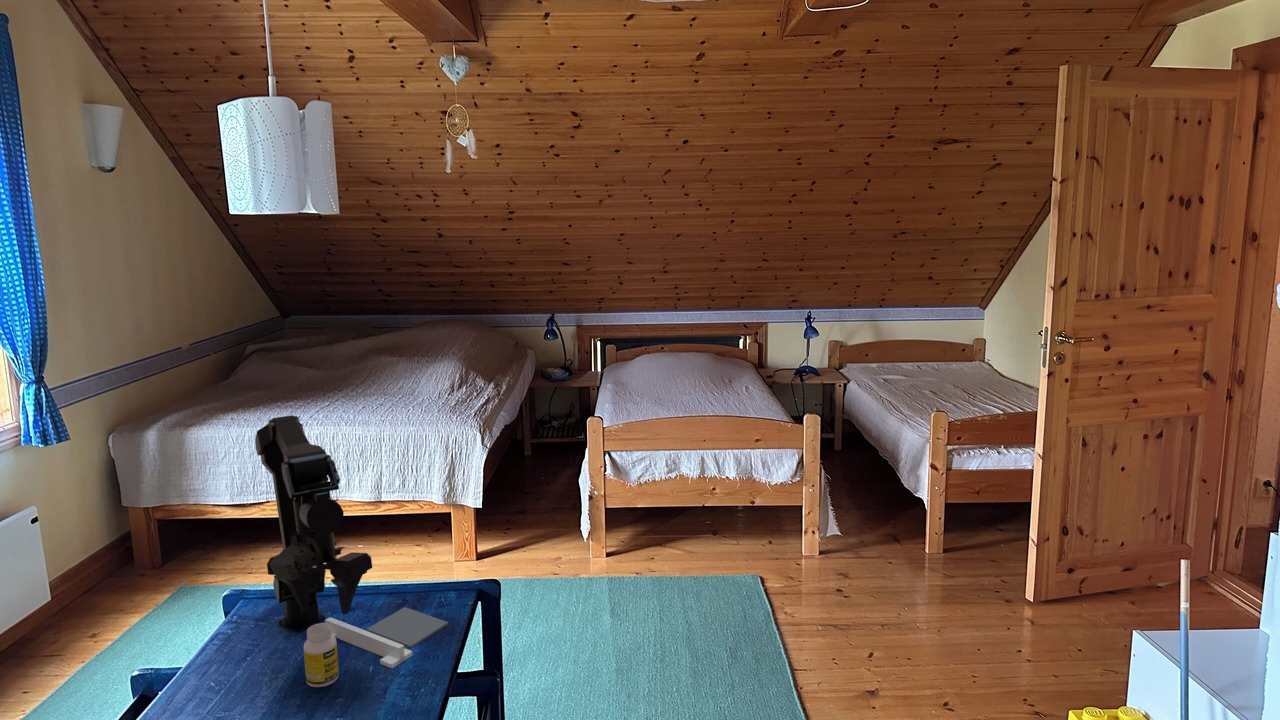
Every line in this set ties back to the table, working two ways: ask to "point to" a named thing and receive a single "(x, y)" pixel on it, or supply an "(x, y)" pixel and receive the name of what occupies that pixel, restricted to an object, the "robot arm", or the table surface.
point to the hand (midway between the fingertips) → (324, 612)
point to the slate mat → (407, 627)
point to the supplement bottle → (320, 656)
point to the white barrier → (370, 642)
